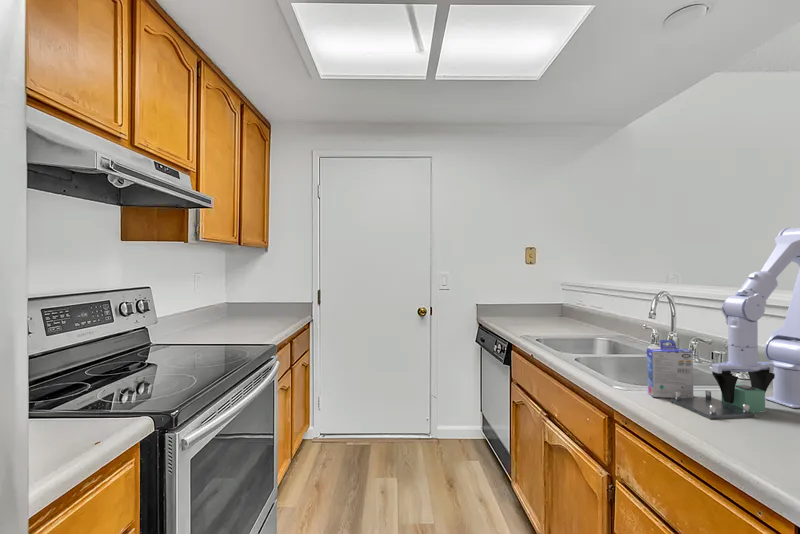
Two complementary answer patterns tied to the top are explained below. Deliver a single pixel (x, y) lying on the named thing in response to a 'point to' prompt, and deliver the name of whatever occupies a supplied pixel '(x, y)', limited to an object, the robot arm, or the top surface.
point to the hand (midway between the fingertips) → (743, 401)
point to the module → (748, 397)
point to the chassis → (712, 407)
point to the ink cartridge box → (670, 371)
